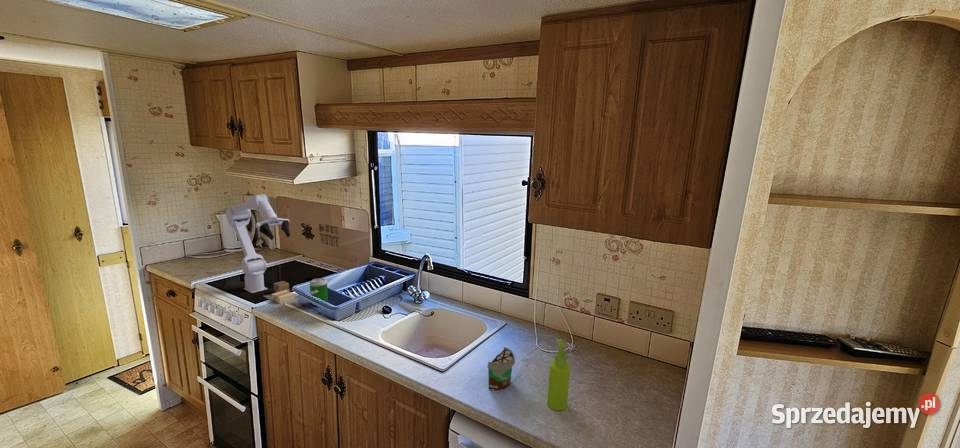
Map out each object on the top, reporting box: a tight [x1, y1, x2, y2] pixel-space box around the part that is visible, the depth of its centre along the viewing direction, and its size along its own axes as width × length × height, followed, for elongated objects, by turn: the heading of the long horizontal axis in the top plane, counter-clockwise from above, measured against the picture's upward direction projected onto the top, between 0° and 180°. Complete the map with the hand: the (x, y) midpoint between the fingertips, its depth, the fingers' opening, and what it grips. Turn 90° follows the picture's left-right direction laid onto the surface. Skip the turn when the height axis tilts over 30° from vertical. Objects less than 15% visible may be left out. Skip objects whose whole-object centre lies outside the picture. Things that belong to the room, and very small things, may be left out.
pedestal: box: [271, 290, 295, 305], centre depth 192 cm, size 7×7×3 cm
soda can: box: [309, 277, 329, 302], centre depth 189 cm, size 8×8×12 cm
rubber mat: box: [263, 292, 299, 305], centre depth 196 cm, size 15×11×1 cm
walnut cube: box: [273, 280, 290, 293], centre depth 200 cm, size 5×5×5 cm
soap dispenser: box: [546, 338, 571, 411], centre depth 121 cm, size 6×7×20 cm
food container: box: [487, 346, 516, 391], centre depth 130 cm, size 12×6×10 cm, turn 151°
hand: (280, 237), depth 183 cm, fingers open, 7 cm apart
